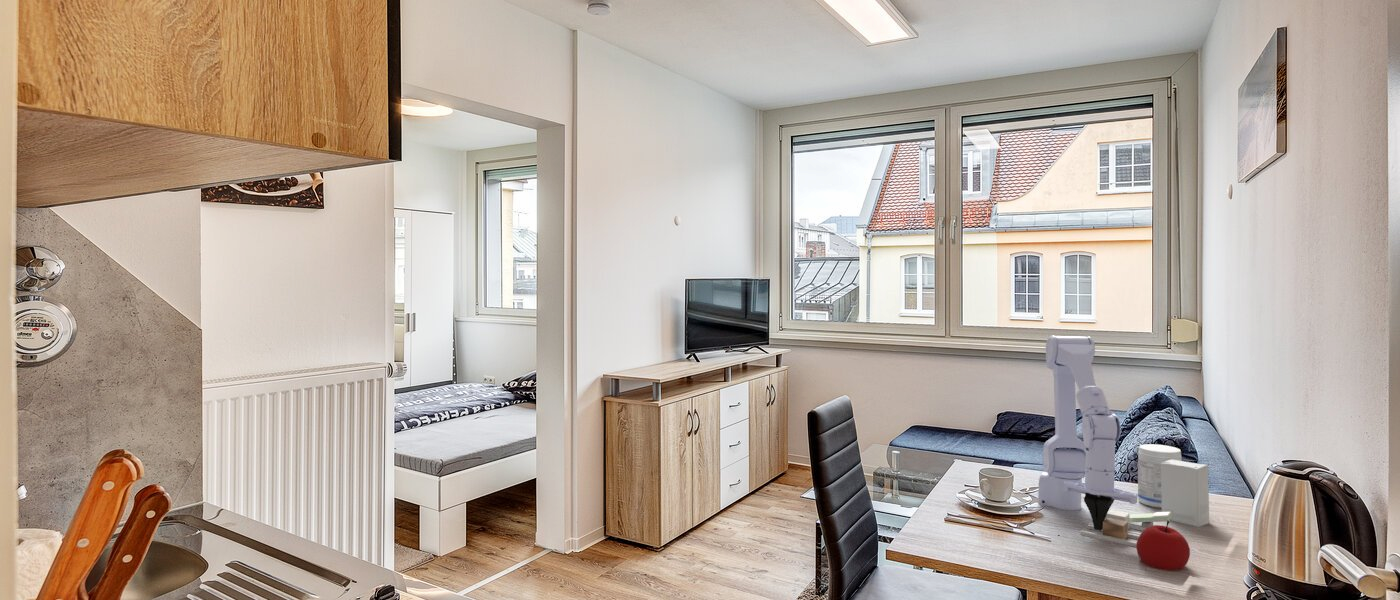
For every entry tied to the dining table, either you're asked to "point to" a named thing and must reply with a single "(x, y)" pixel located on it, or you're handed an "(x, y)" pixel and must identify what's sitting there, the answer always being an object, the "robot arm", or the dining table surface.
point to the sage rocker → (1151, 517)
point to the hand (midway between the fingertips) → (1098, 528)
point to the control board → (1122, 541)
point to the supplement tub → (1153, 471)
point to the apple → (1163, 548)
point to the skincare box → (1185, 492)
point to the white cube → (1118, 515)
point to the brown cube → (1115, 528)
